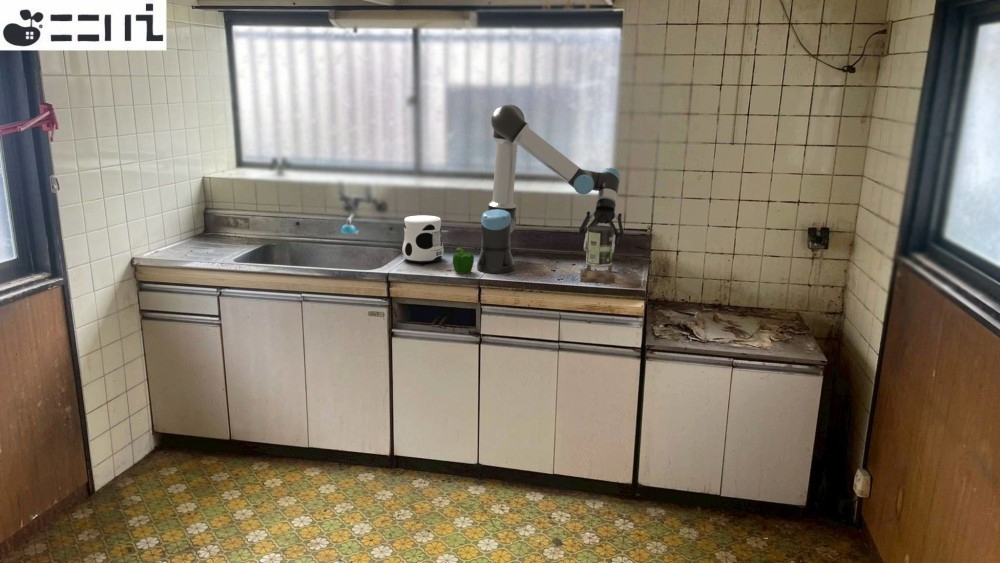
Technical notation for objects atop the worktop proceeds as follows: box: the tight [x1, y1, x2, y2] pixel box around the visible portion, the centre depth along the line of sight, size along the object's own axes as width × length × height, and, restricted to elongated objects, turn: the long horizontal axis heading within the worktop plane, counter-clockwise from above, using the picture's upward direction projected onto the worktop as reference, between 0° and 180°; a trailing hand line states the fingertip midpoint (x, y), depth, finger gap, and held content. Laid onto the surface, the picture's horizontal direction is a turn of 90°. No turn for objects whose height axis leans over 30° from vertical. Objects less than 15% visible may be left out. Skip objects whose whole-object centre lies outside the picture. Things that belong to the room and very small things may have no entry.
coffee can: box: [585, 224, 614, 267], centre depth 275 cm, size 10×10×14 cm
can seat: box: [579, 264, 616, 284], centre depth 278 cm, size 13×13×5 cm
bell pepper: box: [452, 247, 475, 275], centre depth 282 cm, size 8×8×10 cm
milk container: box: [401, 215, 445, 264], centre depth 300 cm, size 17×17×18 cm
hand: (598, 250), depth 273 cm, fingers closed on coffee can, 10 cm apart
